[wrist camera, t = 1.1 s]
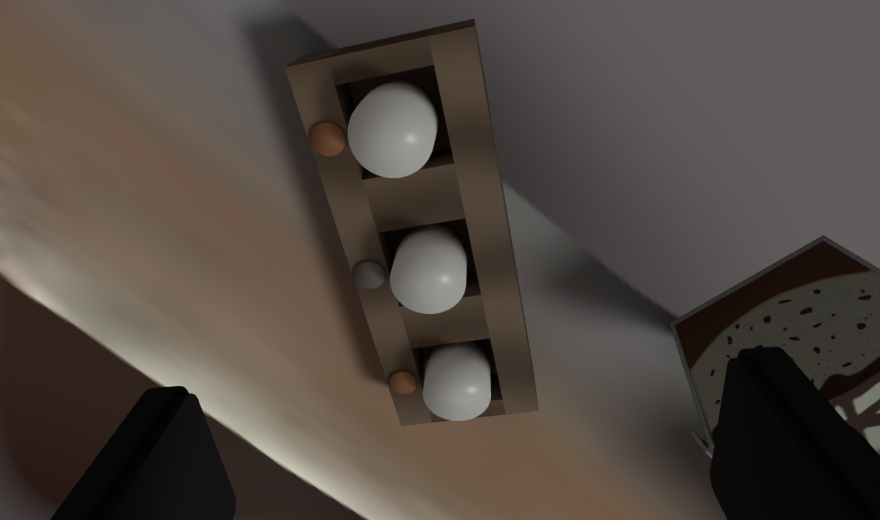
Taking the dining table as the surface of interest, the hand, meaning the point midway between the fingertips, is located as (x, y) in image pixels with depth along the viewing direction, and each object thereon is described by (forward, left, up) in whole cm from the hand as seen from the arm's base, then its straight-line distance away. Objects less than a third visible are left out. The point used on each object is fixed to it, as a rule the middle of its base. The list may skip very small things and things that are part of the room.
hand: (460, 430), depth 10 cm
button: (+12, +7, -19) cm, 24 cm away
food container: (0, +21, -22) cm, 30 cm away
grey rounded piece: (+2, -3, -19) cm, 20 cm away
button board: (+7, +2, -21) cm, 23 cm away
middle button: (+7, +2, -19) cm, 21 cm away
